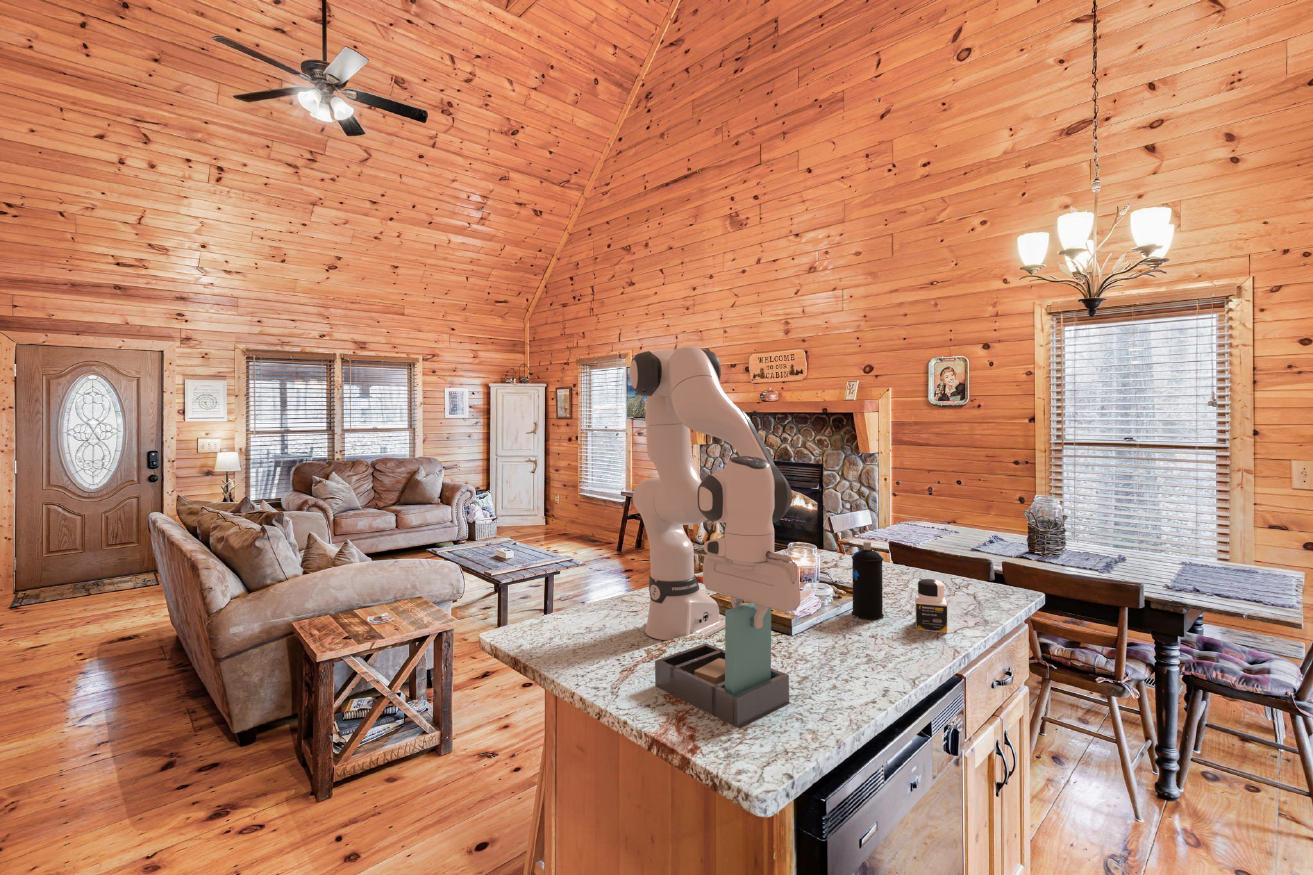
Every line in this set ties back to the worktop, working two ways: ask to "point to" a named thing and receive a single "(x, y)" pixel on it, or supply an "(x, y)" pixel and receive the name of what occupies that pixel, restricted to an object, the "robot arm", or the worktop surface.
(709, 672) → the walnut offcut
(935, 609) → the medicine bottle
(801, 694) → the worktop surface
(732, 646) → the teal panel
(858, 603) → the aerosol can
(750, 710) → the rack
